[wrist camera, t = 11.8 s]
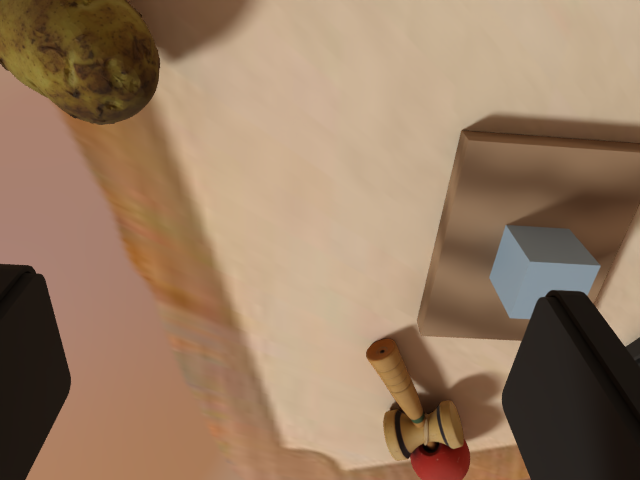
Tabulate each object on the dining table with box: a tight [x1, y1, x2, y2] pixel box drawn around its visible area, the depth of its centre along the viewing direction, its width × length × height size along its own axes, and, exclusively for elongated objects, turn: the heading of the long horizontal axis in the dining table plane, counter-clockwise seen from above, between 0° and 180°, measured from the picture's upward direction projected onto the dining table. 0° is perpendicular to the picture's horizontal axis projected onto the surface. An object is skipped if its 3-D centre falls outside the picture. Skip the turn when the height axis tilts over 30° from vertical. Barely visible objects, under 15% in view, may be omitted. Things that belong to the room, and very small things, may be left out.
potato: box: [0, 0, 160, 125], centre depth 29 cm, size 8×13×8 cm, turn 35°
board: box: [417, 131, 640, 341], centre depth 41 cm, size 18×14×2 cm
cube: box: [489, 225, 601, 319], centre depth 38 cm, size 5×5×5 cm
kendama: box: [366, 338, 470, 480], centre depth 50 cm, size 8×6×18 cm
